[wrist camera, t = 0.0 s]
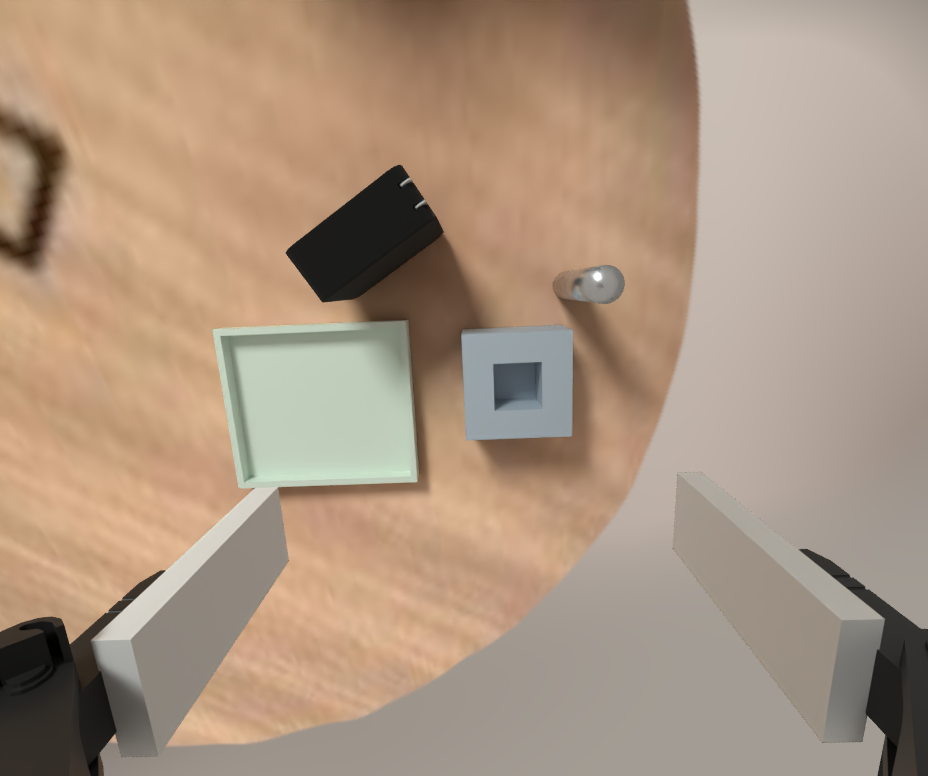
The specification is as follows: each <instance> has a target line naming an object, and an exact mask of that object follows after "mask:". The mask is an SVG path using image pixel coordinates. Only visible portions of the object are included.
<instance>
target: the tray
mask: <svg viewBox="0 0 928 776" xmlns="http://www.w3.org/2000/svg"><path fill="white" fill-rule="evenodd" d="M213 336H214V342H215V348H216V354H217V360H218V366H219V372H220V378H221V384H222V390H223V396H224V402H225V408H226V415H227V421H228V427H229V433H230V439H231V445H232V451H233V457H234V463H235V469H236V475H237V481H238V487H239V488H263V487H294V486H322V485H350V484H378V483H406V482H418V478H419V461H418V447H417V433H416V419H415V405H414V391H413V377H412V363H411V349H410V335H409V321H408V320H386V321H364V322H341V323H319V324H296V325H274V326H252V327H229V328H219V329H213Z"/></svg>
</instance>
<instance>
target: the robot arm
mask: <svg viewBox="0 0 928 776" xmlns="http://www.w3.org/2000/svg"><path fill="white" fill-rule="evenodd" d="M673 550H674V551H675V552H676V554H677V555H678V556H679V558H680V559H681V560H682V561H683V563H684V564H685V565H686V566H687V568H688V569H689V571H690V572H691V573H692V574H693V576H694V577H695V578H696V580H697V581H698V582H699V584H700V585H701V586H702V587H703V589H704V590H705V591H706V593H707V594H708V595H709V597H710V598H711V599H712V600H713V602H714V603H715V604H716V605H717V607H718V608H719V609H720V611H721V612H722V613H723V615H724V616H725V617H726V619H727V620H728V621H729V622H730V624H731V625H732V626H733V628H734V629H735V630H736V632H737V633H738V634H739V635H740V636H741V638H742V639H743V641H744V642H745V643H746V645H747V646H748V647H749V648H750V650H751V651H752V652H753V654H754V655H755V656H756V658H757V659H758V660H759V661H760V663H761V664H762V665H763V666H764V668H765V669H766V670H767V672H768V673H769V674H770V676H771V677H772V678H773V680H774V681H775V682H776V683H777V685H778V686H779V687H780V689H781V690H782V691H783V692H784V694H785V695H786V696H787V698H788V699H789V700H790V701H791V703H792V704H793V706H794V707H795V708H796V709H797V710H798V712H799V713H800V715H801V716H802V717H803V718H804V720H805V721H806V722H807V724H808V725H809V726H810V728H811V729H812V730H813V731H814V733H815V734H816V735H817V737H818V738H819V739H820V741H821V742H822V743H835V742H862V741H863V736H864V731H865V725H866V719H867V715H868V716H869V718H870V719H871V720H872V721H873V722H874V723H875V724H876V725H877V726H878V727H879V728H880V729H881V730H882V732H883V733H884V734H885V741H884V746H883V751H882V756H881V761H880V766H879V771H878V776H928V629H920V628H919V627H917V626H916V625H915V624H914V623H912V622H911V621H909V620H908V619H907V618H906V617H904V616H903V615H902V614H900V613H899V612H898V611H896V610H895V609H894V608H893V607H891V606H890V605H889V604H887V603H886V602H885V601H883V600H882V599H880V598H879V597H878V596H877V595H875V594H874V593H873V592H871V591H870V590H866V589H865V586H864V585H862V584H861V583H860V582H858V581H857V580H856V579H854V578H850V575H849V574H848V573H846V572H845V571H844V570H842V569H841V568H840V567H839V566H837V565H836V564H835V563H833V562H832V561H831V560H828V559H826V558H824V557H822V556H820V555H818V554H816V553H814V552H812V551H810V550H808V549H797V548H796V547H794V546H793V545H792V544H791V543H789V542H788V541H787V540H786V539H784V538H783V537H782V536H781V535H779V534H778V533H777V532H776V531H774V530H773V529H772V528H771V527H769V526H768V525H767V524H766V523H765V522H763V521H762V520H761V519H760V518H758V517H757V516H756V515H754V514H753V513H752V512H751V511H749V510H748V509H747V508H746V507H744V506H743V505H742V504H741V503H740V502H738V501H737V500H736V499H735V498H733V497H732V496H731V495H730V494H728V493H727V492H726V491H725V490H723V489H722V488H721V487H720V486H718V485H717V484H716V483H715V482H713V481H712V480H711V479H710V478H708V477H707V476H706V475H705V474H703V473H702V472H685V473H678V474H677V491H676V506H675V522H674V538H673ZM288 561H289V559H288V552H287V545H286V538H285V531H284V524H283V518H282V511H281V504H280V497H279V490H278V487H263V488H254V489H253V490H252V491H251V492H250V493H249V494H248V495H247V496H246V497H245V498H244V499H243V500H242V501H240V502H239V503H238V504H237V505H236V506H235V507H234V508H233V509H232V510H231V511H230V512H229V513H228V514H226V515H225V516H224V517H223V518H222V519H221V520H220V521H219V522H218V523H217V524H216V525H215V526H214V527H212V528H211V529H210V530H209V531H208V532H207V533H206V534H205V535H204V536H203V537H202V538H201V539H200V540H199V541H197V542H196V543H195V544H194V545H193V546H192V547H191V548H190V549H189V550H188V551H187V552H186V553H185V554H183V555H182V556H181V557H180V558H179V559H178V560H177V561H176V562H175V563H174V564H173V565H172V566H171V567H169V568H168V569H167V570H163V571H159V572H157V573H156V574H154V575H152V576H150V577H149V578H147V579H145V580H144V581H142V582H140V583H139V584H138V585H136V586H135V587H134V588H133V589H132V590H131V591H130V592H129V593H127V594H126V595H125V596H124V597H123V599H122V601H118V602H117V603H116V604H115V605H114V606H113V607H112V608H111V609H110V610H109V612H108V613H105V614H104V615H103V616H102V617H101V618H99V619H98V620H97V621H96V622H95V623H94V624H93V625H92V626H90V627H89V628H88V629H87V630H86V631H85V632H84V633H83V634H81V635H80V636H79V637H78V638H77V639H76V640H75V641H74V642H72V643H71V644H69V641H68V637H67V634H66V630H65V626H64V624H63V621H62V619H60V618H56V617H43V618H37V619H33V620H30V621H26V622H23V623H20V624H17V625H15V626H13V627H10V628H8V629H6V630H3V631H1V632H0V776H104V772H103V763H102V760H101V756H100V752H101V750H102V749H103V748H104V747H105V745H106V744H107V743H108V742H109V740H110V739H111V738H112V737H113V735H114V734H115V735H116V739H117V742H118V746H119V750H120V754H121V757H155V756H159V755H160V754H161V752H162V751H163V749H164V748H165V746H166V745H167V743H168V742H169V740H170V739H171V737H172V736H173V734H174V733H175V731H176V730H177V728H178V727H179V725H180V724H181V722H182V721H183V719H184V718H185V716H186V715H187V713H188V712H189V710H190V709H191V707H192V706H193V704H194V703H195V701H196V700H197V698H198V697H199V695H200V694H201V692H202V691H203V689H204V688H205V686H206V685H207V683H208V682H209V680H210V679H211V677H212V676H213V674H214V673H215V671H216V670H217V668H218V667H219V665H220V664H221V662H222V661H223V659H224V658H225V656H226V655H227V653H228V652H229V650H230V649H231V647H232V646H233V644H234V643H235V641H236V640H237V638H238V637H239V635H240V634H241V632H242V631H243V629H244V628H245V626H246V625H247V623H248V622H249V620H250V619H251V617H252V615H253V614H254V612H255V611H256V609H257V608H258V606H259V605H260V603H261V602H262V600H263V599H264V597H265V596H266V594H267V593H268V591H269V590H270V588H271V587H272V585H273V584H274V582H275V581H276V579H277V578H278V576H279V575H280V573H281V572H282V570H283V569H284V567H285V566H286V564H287V563H288Z"/></svg>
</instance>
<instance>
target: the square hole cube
mask: <svg viewBox="0 0 928 776" xmlns="http://www.w3.org/2000/svg"><path fill="white" fill-rule="evenodd" d="M461 340H462V362H463V383H464V405H465V426H466V440H489V439H516V438H542V437H568V436H572V387H573V330H572V329H569V328H567V327H565V326H562V325H547V326H524V327H501V328H478V329H462V334H461Z"/></svg>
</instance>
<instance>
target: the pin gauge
mask: <svg viewBox="0 0 928 776" xmlns="http://www.w3.org/2000/svg"><path fill="white" fill-rule="evenodd" d="M624 284H625V283H624V277H623V275H622V273H621V272H620V270H619V269H617V268H616V267H614V266H610V265H603V266H597V267H591V268H585V269H579V270H572V271H566V272H562V273H560V274H559V275H558V276H557V277H556V278H555V280H554V282H553V289H554V292H555V294H556V295H557V296H558V297H560V298H562V299H569V300H577V301H585V302H593V303H601V304H608V303H611V302H613V301H615V300H616V299H618V298H619V297H620V295H621V294H622V292H623V289H624Z"/></svg>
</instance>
